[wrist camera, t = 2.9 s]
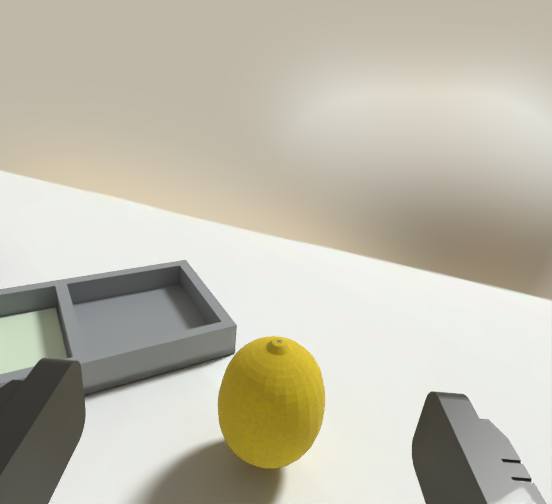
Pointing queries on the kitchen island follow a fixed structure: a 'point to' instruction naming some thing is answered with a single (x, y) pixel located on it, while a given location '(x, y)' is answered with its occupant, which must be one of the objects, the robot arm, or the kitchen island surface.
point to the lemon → (271, 402)
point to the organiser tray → (114, 325)
